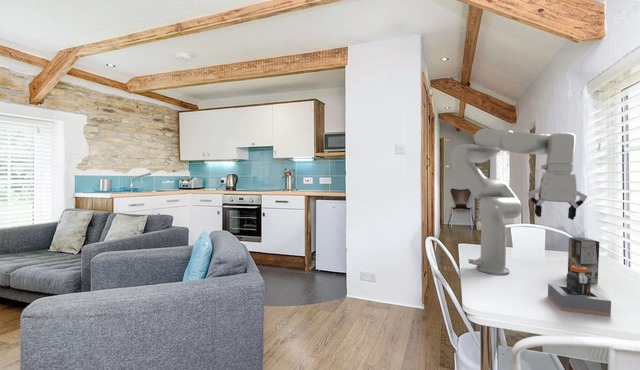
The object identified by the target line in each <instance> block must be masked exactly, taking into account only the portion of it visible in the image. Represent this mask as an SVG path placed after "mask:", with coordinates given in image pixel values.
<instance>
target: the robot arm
mask: <svg viewBox="0 0 640 370" xmlns="http://www.w3.org/2000/svg"><path fill="white" fill-rule="evenodd" d="M473 142H474V144H469V143H468V144H465V143H464V144H459V145H457V146H455V147H454V148H453V150H451V151H452V152H451V156H450V157H451V158H450V159H451V165H452V167H453V169H454V170H455V172H456V173H457V174H458V175H459V176H460V178H461V180H462V181H463V182H464V184H465V185H466V187H467V188H468V190H469V191H470V193H471V194H472V195H473V197H474V198H475V199H478V200H481V202H480V203H479V207H478V209H479V211H478V212H479V216H480V227H481V228H480V231H481V232H480V257H478V258H476V259H472V258H468V264H471V265H474V266H475V267H476V268H475V269H476V270H478V271H480V272H482V273H485V274H489V275H490V274H491V275H498V276H499V275H502V276H504V275H505V276H506V275H509V274H510V269H509V268H507V267H506V266H507V265H506V260H507V227H506V223H505V222H504V220H508V219H509V220H512V219H515V218H518V217H519V216H520V215H521V214H522V211H523V206H522V203H521V201H520V200H519V198H518V197H517V195H516V194H515V193H514V192H513V190H512V189H511V188H510V186H509V185H508V184H507V183H506V182H505V181H504V180H503V179H500V178H490V177H486V176H485V175H484V174H483V172H482V170H481V169H480V168H479V167H477V166H476V165H475V164H476V163H478V164H479V163H480V164H482V163H485V162H488V161H489V160H490V159H492V158H493V157H494V156H495V155H497V153H499V152H500V151H503V152H511V153H517V154H523V155H524V154H525V155H542V156H543V155H544V156H545V155H546V163H544V164H543V165H541V167H540V170H544V172H543V173H542V174H541V175H542V176H541V179H540V183H539V187H538V188H536V189H533V190H531V191H528V192H527V195H528V197H529V200H530V201H531V202H532V203H533V204H534V207H535V208H534V214H535V216H536V217H538V218H541V217H542V209H543V206H542V204H543V203H544V202H554V203H555V202H556V203H568V204H569V207H568V212H567V217H568V218H567V219H570V220H572V221H573V220H575V218H576V216H577V209H578V208H579V207H580V206H581V205H583V204H584V202H585V201H586V199H587V198H588V195H586V194H584V193H582V192H580V191H578V190H577V177H576V176H577V175H576V173H573V169H574V160H575V159H574V156H575V146H576V135H575V134H574V133H571V132H557V133H556V132H555V133H551V134H549V133H548V134H547V133H546V134H545V133H534V132H522V131H521V132H519V131H513V130H509V129H501V128H500V129H499V128H498V129H495V128H481V129H479V130H478V131H476V133H475V134H474V135H473ZM473 163H475V164H473ZM536 194H538V198H537V199H536V197H535V196H534V195H536ZM577 197H579V199H578V200H577Z"/></svg>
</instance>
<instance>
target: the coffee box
mask: <svg viewBox="0 0 640 370" xmlns="http://www.w3.org/2000/svg"><path fill="white" fill-rule="evenodd" d="M567 250H568V251H567V253H568V255H567V273H568V272H571V266H582V267H585V268H587V274H588V275H589V276H590V277H591V284H598V283H599V282H598V281H599V262H600V260H599V259H600V258H599V257H600V241H598V240H595V239H591V238H588V237H579V236H578V237H568V249H567Z"/></svg>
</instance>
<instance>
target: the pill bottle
mask: <svg viewBox="0 0 640 370" xmlns="http://www.w3.org/2000/svg"><path fill="white" fill-rule="evenodd" d="M565 283H566V284H565V285H566V293H567V294H572V295H581V296H590V288H592V287H591V285H592V283H591V277H590V276H589V275H588V274H587V268H585V267H582V266H571V272H568V271H567V273H566V282H565Z"/></svg>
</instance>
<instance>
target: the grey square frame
mask: <svg viewBox="0 0 640 370" xmlns="http://www.w3.org/2000/svg"><path fill="white" fill-rule="evenodd" d="M547 298H549V300H551V301H552V302H553V303H554V304H555V305H556V306H557V307H558V308H559V309H560V310H561V311H563V312H564V311H565V312H573V313H579V314H589V315H597V316H604V317H611V313H612V312H611V311H612V300H610V299H609V298H607V297H606V296H604V295H603V294H602V293H600V292H598V291H597V290H596V289H594V288H592V287H590V296H581V295H572V294H567V293H566V284H559V283H551V282H550V283H547Z"/></svg>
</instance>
